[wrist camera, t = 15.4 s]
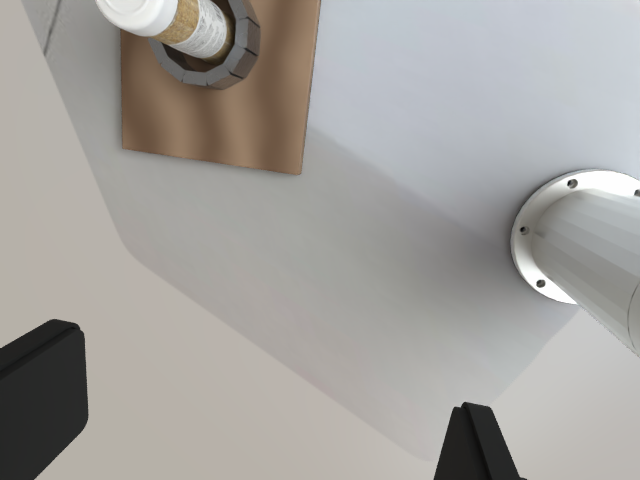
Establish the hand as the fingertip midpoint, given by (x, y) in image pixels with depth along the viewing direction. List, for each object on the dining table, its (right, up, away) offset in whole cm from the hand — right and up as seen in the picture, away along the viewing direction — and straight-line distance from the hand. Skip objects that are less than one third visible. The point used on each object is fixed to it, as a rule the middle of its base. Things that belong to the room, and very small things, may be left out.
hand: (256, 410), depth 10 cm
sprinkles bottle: (-8, +22, +25) cm, 35 cm away
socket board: (-8, +23, +27) cm, 36 cm away
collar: (-8, +22, +25) cm, 35 cm away
